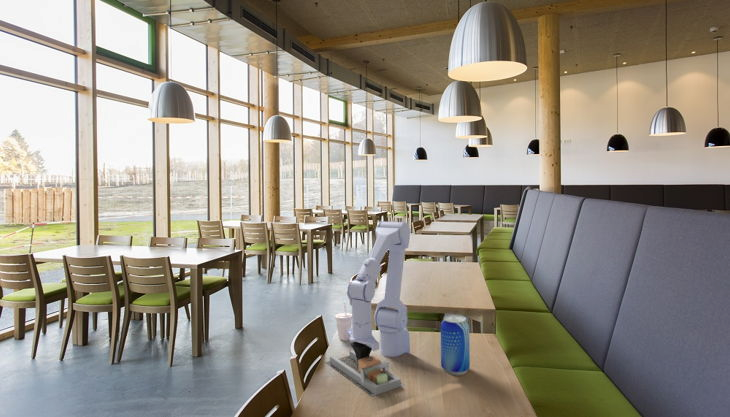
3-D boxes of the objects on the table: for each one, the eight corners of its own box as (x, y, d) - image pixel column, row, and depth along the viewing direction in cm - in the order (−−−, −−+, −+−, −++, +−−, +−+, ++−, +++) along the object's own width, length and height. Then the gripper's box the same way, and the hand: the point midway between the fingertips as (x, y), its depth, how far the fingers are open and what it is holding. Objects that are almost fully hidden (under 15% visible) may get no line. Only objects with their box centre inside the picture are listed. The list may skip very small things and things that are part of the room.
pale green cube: (383, 382, 122) (383, 372, 122) (389, 386, 120) (389, 376, 120) (374, 385, 121) (374, 375, 120) (380, 390, 118) (380, 379, 118)
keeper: (373, 373, 128) (372, 353, 128) (386, 381, 123) (385, 360, 122) (358, 377, 125) (358, 357, 125) (371, 386, 120) (371, 365, 120)
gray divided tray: (354, 357, 142) (354, 348, 142) (404, 388, 121) (404, 377, 121) (324, 366, 136) (324, 356, 136) (371, 401, 115) (371, 389, 115)
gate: (386, 380, 126) (386, 360, 126) (389, 382, 125) (388, 362, 124) (360, 389, 121) (360, 368, 121) (363, 391, 120) (363, 370, 120)
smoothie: (351, 345, 153) (350, 306, 152) (333, 344, 154) (332, 305, 153) (355, 338, 159) (354, 301, 158) (338, 337, 160) (337, 300, 159)
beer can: (474, 369, 132) (474, 317, 130) (460, 379, 126) (459, 325, 124) (450, 361, 137) (450, 312, 136) (435, 371, 131) (435, 319, 130)
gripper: (337, 317, 131) (338, 361, 132) (364, 331, 119) (365, 379, 120) (357, 312, 135) (358, 355, 136) (385, 325, 122) (386, 372, 124)
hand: (363, 366), depth 128 cm, fingers closed
